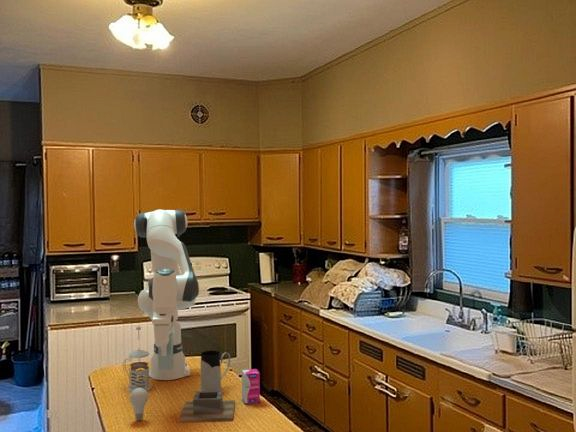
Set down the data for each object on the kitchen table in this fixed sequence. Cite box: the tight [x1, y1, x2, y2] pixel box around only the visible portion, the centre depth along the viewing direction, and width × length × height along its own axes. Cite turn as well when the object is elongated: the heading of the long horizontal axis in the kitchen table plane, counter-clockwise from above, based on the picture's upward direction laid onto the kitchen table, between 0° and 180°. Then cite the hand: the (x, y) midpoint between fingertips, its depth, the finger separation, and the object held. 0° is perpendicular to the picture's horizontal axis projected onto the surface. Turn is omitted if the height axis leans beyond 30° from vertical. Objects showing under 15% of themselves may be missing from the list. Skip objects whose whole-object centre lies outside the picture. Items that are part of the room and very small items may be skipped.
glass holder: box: [199, 350, 231, 392], centre depth 233 cm, size 9×14×15 cm, turn 135°
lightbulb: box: [129, 388, 149, 421], centre depth 199 cm, size 6×6×11 cm
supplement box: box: [241, 368, 261, 405], centre depth 217 cm, size 6×6×12 cm
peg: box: [158, 333, 173, 370], centre depth 208 cm, size 4×4×12 cm
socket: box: [178, 390, 236, 423], centre depth 207 cm, size 18×18×6 cm
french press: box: [122, 325, 153, 393], centre depth 235 cm, size 10×12×25 cm
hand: (165, 353), depth 208 cm, fingers closed on peg, 4 cm apart
